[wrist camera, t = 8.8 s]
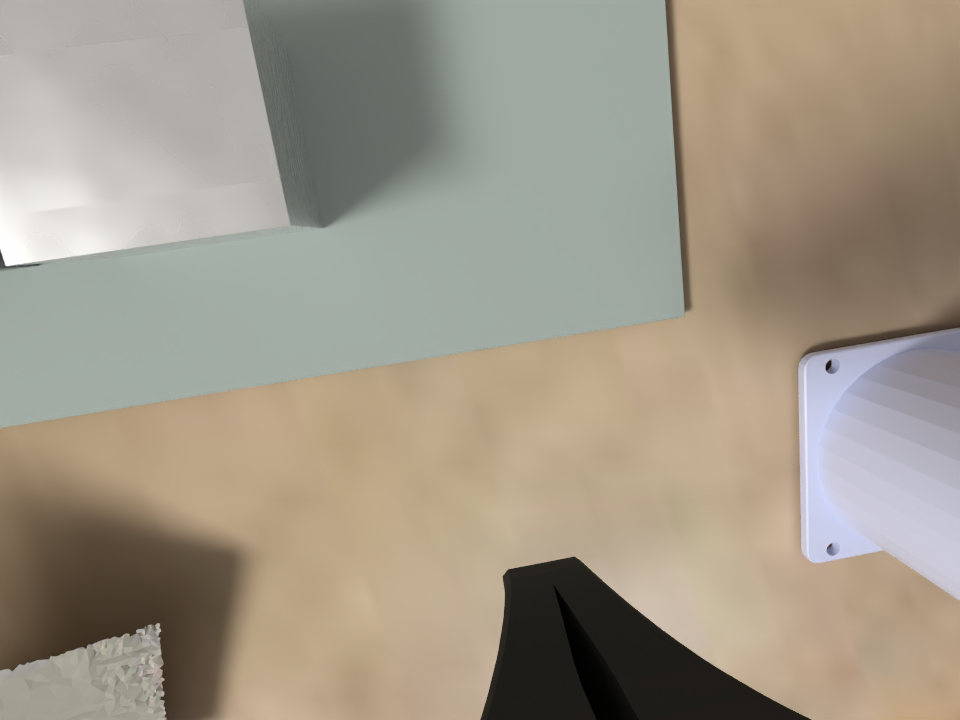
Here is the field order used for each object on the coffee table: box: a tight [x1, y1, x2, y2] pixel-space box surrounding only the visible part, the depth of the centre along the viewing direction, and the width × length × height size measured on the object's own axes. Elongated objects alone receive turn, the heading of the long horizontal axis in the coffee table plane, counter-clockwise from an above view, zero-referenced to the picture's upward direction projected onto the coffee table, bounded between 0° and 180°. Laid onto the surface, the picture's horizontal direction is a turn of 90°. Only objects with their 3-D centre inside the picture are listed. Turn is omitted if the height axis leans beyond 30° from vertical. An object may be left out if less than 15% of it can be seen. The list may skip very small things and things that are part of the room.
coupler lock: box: [0, 0, 323, 266], centre depth 14 cm, size 6×5×4 cm
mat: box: [0, 0, 685, 428], centre depth 17 cm, size 22×12×1 cm, turn 98°
